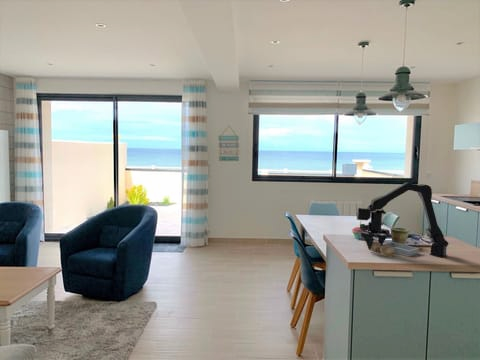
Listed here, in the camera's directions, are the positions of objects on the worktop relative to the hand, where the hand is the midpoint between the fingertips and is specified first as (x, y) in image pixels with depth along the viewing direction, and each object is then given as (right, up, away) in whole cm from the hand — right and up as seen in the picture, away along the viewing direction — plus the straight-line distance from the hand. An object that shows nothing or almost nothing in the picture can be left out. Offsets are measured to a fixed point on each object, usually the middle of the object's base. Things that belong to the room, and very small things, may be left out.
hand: (374, 248), depth 188 cm
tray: (+14, -2, 0) cm, 14 cm away
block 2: (+3, -2, -8) cm, 9 cm away
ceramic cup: (+20, -1, +14) cm, 24 cm away
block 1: (0, -1, 0) cm, 1 cm away
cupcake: (+1, +1, +28) cm, 28 cm away
